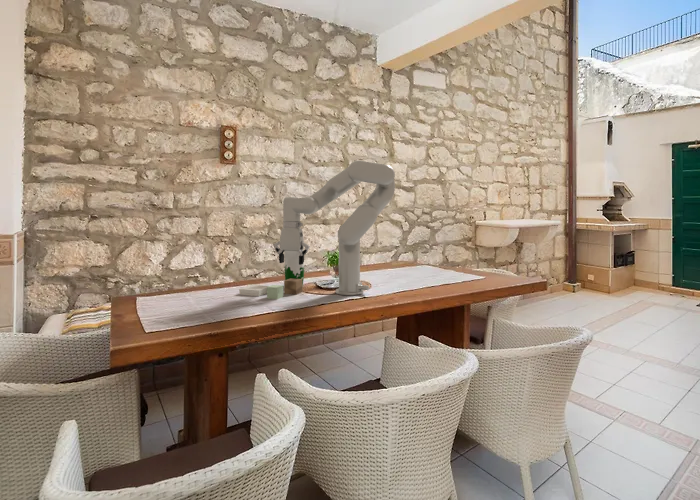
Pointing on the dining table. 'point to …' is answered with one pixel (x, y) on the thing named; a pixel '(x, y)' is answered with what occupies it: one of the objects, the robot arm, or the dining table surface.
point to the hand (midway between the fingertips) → (291, 263)
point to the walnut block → (293, 286)
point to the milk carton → (293, 266)
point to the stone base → (253, 290)
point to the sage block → (274, 291)
